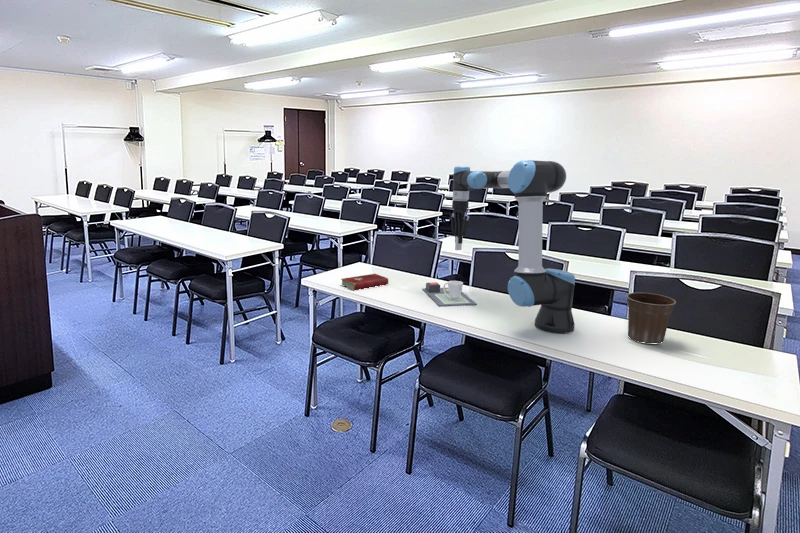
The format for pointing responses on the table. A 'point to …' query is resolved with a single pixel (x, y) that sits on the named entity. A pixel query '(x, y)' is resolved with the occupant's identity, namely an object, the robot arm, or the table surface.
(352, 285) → the hardcover book
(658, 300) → the plant pot
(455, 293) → the cup
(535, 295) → the robot arm
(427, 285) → the button housing
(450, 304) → the picture board
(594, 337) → the table surface
